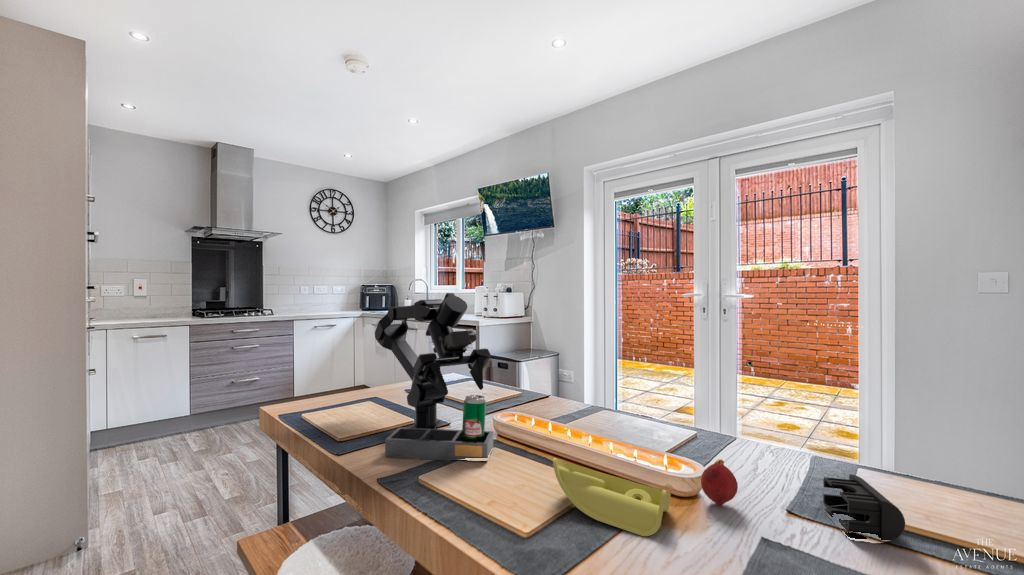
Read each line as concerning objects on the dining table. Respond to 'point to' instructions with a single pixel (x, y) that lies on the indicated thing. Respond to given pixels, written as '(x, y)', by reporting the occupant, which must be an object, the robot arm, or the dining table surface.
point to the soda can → (473, 418)
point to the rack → (435, 444)
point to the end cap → (863, 509)
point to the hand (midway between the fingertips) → (464, 391)
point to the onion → (719, 483)
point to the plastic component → (613, 498)
